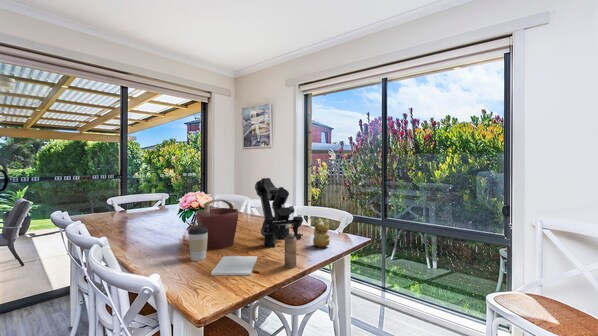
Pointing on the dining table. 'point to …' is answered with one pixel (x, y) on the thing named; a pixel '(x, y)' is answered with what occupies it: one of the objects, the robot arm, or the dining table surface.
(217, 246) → the bucket
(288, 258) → the pepper mill
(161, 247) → the dining table surface
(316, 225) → the decorative figurine
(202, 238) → the coffee cup
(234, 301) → the dining table surface
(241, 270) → the ceramic tile
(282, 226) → the milk frother
